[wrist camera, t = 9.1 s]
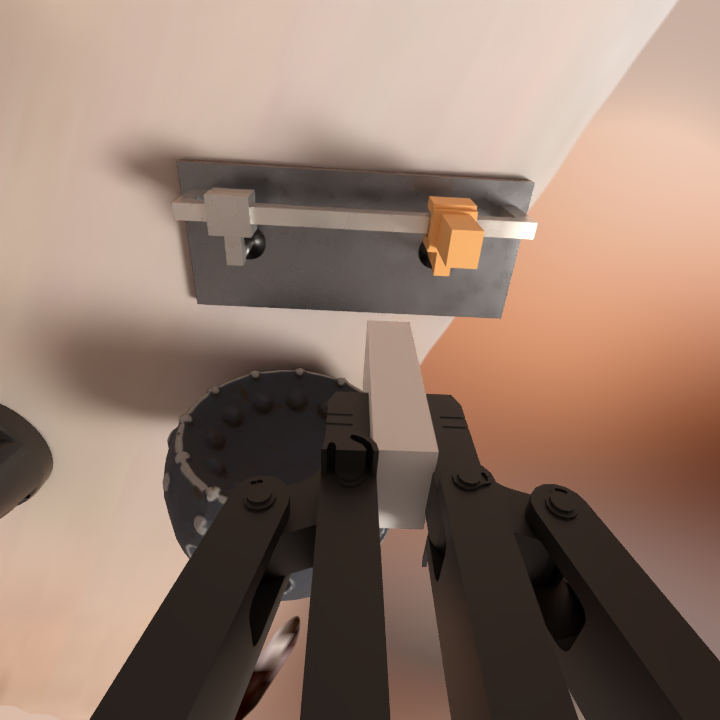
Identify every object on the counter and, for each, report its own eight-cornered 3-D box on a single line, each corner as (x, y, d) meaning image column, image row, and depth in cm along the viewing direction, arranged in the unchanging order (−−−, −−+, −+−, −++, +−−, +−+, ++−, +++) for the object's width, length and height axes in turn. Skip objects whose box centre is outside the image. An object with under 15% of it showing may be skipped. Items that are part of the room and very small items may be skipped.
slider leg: (414, 257, 38) (431, 307, 30) (423, 187, 35) (445, 220, 27) (449, 259, 38) (476, 309, 30) (461, 189, 35) (494, 223, 27)
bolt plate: (200, 299, 42) (197, 304, 41) (181, 159, 35) (176, 161, 34) (497, 313, 43) (501, 319, 42) (530, 180, 36) (535, 183, 35)
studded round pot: (200, 351, 44) (105, 516, 27) (399, 368, 46) (425, 536, 29) (208, 433, 50) (133, 612, 33) (385, 446, 51) (400, 626, 34)
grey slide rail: (204, 241, 39) (178, 268, 33) (195, 175, 36) (166, 192, 30) (500, 257, 40) (524, 285, 34) (515, 193, 37) (543, 213, 31)
